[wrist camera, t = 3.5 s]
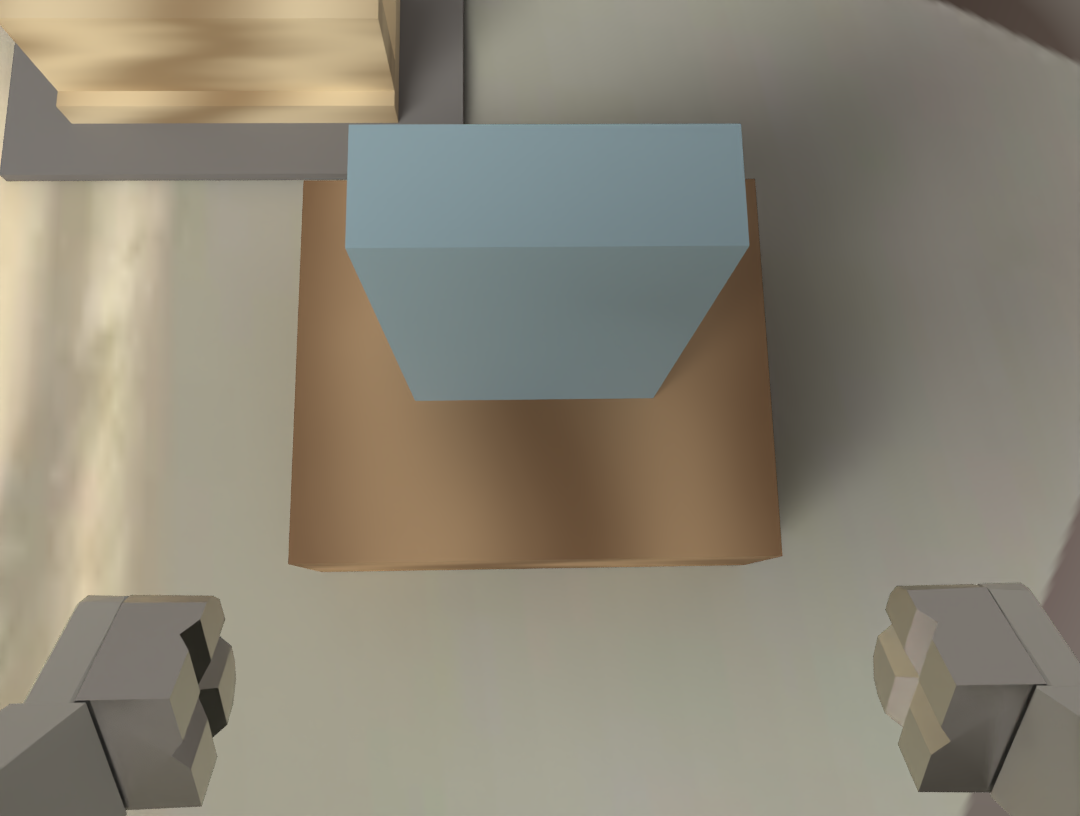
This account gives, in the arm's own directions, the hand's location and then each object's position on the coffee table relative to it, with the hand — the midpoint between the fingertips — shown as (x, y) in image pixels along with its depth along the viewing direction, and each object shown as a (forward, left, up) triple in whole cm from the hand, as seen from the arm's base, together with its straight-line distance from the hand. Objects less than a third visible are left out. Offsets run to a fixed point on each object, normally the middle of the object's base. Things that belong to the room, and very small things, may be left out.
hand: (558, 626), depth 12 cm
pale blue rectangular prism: (0, +6, -11) cm, 13 cm away
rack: (-9, +18, -15) cm, 26 cm away
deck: (0, +6, -15) cm, 17 cm away
